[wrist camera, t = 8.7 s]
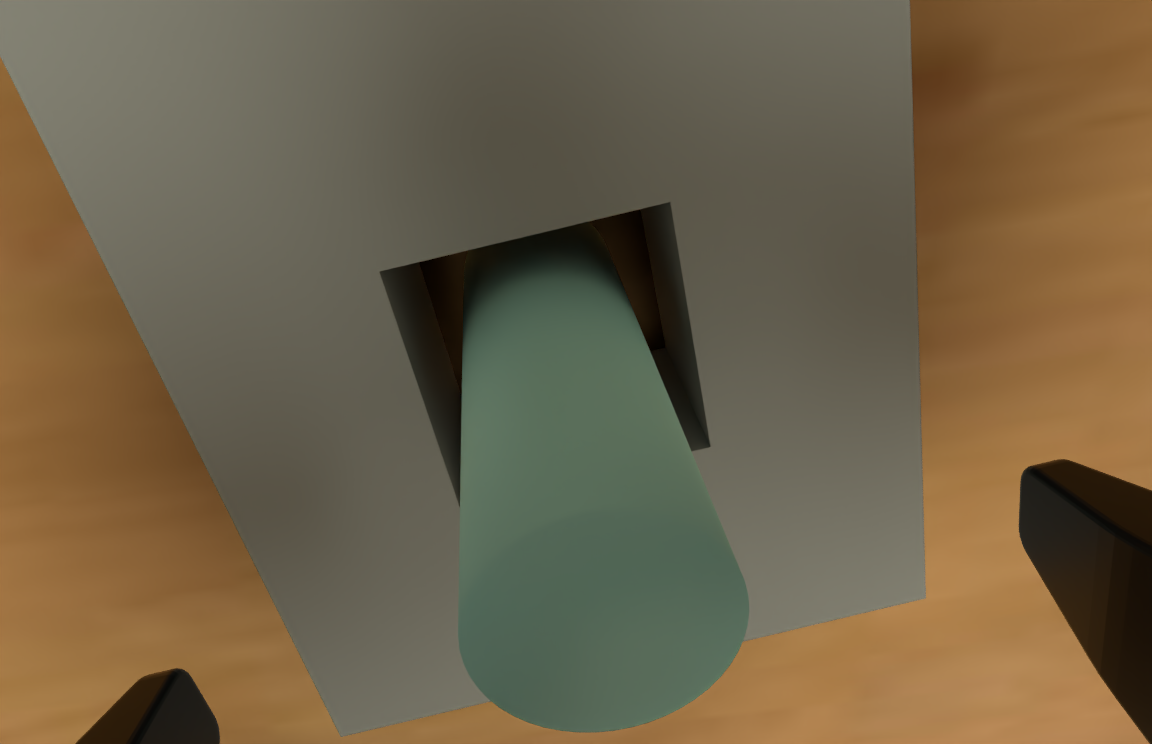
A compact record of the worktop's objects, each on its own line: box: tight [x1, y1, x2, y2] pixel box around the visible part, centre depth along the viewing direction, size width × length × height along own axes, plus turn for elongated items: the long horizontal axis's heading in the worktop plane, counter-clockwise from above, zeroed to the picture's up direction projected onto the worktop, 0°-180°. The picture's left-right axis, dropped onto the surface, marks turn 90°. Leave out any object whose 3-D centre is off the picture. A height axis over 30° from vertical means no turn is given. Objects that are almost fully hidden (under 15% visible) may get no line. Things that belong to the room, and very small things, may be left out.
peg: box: [458, 222, 749, 732], centre depth 13 cm, size 3×3×10 cm
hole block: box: [0, 0, 926, 737], centre depth 16 cm, size 12×14×4 cm
